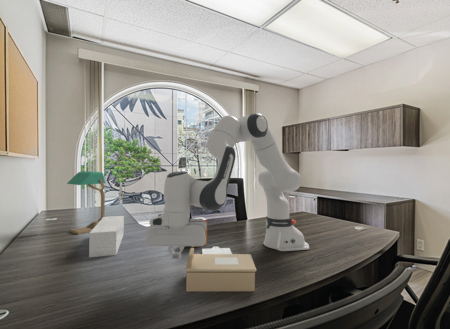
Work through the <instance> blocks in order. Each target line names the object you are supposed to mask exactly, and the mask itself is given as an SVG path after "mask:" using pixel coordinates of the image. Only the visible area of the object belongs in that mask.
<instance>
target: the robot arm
mask: <svg viewBox="0 0 450 329" xmlns="http://www.w3.org/2000/svg"><path fill="white" fill-rule="evenodd" d="M268 126H269V124H268V121H267V119H266V117H265V116H264V115H262V114H261V113H259V112H258V113H251V114H249V115H243V116H241V117H239V118H236V117H234V116H233V115H224V116H222V117H221V119H219V120H218V121H217V123H216V125H215V126H214V127H213V129H212V131H211V133H210V135H209V136H208V139H207V142H206V148H207V151H208V152H209V154H210V155H211V156H212V157H213V158H214V159H217V160H218V163H217V167H216V171H215V173H214V177H213V178H211V179H210V180H200V179H198V178H197V179H196V178H194V177H193V176H191V175H190V174H189V172H187V171H184V170H179V171H173V172H170V173H168V174H167V175H166V177H165V180H164V187H163V188H164V189H163V199H164V208H163V212H162V213H159V214H155V215H154V216H152V217H151V218H150V219H149V226H148V228H147V230H146V237H145V244H146V245H147V246H148V247H168V251H169V252H170V255H171V260H175V259H176V260H181V257H182V252H183V250H184V249H185V247H191V246H197V247H205V246H206V245H205V243H206V236H205V231H206V229H207V230H208V222H207V223H206V221H205V220H203V219H194V218H195V217H192V218H190V217H191V216H190V215H191V208H190V206H193V207H196V208H197V207H198V208H201V209H205V210H208V211H211V212H215V211H218V210H220V209H221V208H222V207H223V206H224V205H225V203H226V201H227V196H228V189H229V188H228V187H229V184H230V180H231V177H232V173H233V169H234V165H235V161H236V157H237V156H236V151H235V149H234V147H235V145H236V143H237V144H238V143H244V142H248V141H251V143H252V147H253V150H254V152H255V154H256V157H257V159H258V162H259V163H260V165H261V166H262V167H263V168H264V169H263V170H261V171H260V173H259V174H258V183H259V185H260V186H261V187H262V189H263V191H264V194H265V198H266V217H265V228H266V230H265V236H264V240H263V245H264V246H265V247H267V248H270V249H273V250H277V251H280V252H292V251H293V252H294V251H304V250H305V251H306V250H310V245H309V243H308V242H306V241H305V237H304V234H303V233H302V231H300V230H299V229H298V228H296V227H295V226H294V225H296V224H297V221H296V220H295V219H293V218H291V217H290V203H289V202H290V201H289V200H288V199H287V197H286V196H285V194H284V192H295V191H298V189H299V188H300V187H301V184H302V176H301V174H300V172H298V171H296V170H295V169H294V168H292V167H291V166H290V165H289V164H288V162H287V161H286V160H285V159H284V157H283V155H282V154H281V151H280V149H279V146H278V144H277V142H276V139H275V137H274V135H273V133H272V131H271V129H270V128H269V127H268ZM196 221H197V222H196ZM202 221H204V222H202ZM175 247H179V248H178V249H179V251H178V252H177V251H174V249H173V248H175Z"/></svg>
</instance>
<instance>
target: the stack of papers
mask: <svg viewBox="0 0 450 329" xmlns="http://www.w3.org/2000/svg"><path fill="white" fill-rule="evenodd" d="M124 232H125V216H124V215H115V216H113V215H111V216H104V217H103V218H102V219H101V220H100V221H99V222H98V224H97V225H96V226H95V227H94V228H93V229H92V231H91V232H88V233H89V245H88V248H89V250H88V258H98V257H109V256H116V255H117V254H118V251H119V248H120V246H121V243H122V241H123V237H124V234H125V233H124Z"/></svg>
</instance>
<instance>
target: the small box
mask: <svg viewBox="0 0 450 329" xmlns="http://www.w3.org/2000/svg"><path fill="white" fill-rule="evenodd" d="M193 218H194V219H203V220H205V221H206V223H207V224H208V219H207V218H205V217H202V216H201V217H200V216H199V217H193ZM196 222H197V221H196ZM202 222H204V221H202ZM205 236H206V243H205V245H204V246H207V244H208V228H207V229H206V231H205ZM195 247H198V246H190V248H195Z"/></svg>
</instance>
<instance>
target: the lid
mask: <svg viewBox="0 0 450 329" xmlns="http://www.w3.org/2000/svg"><path fill="white" fill-rule="evenodd" d="M186 261H187V262H186V266H185V272H186V273H187V272H255V273H256V272H257V268H256V264H255V262H254V260H253V257H252V254H250V253H246V254H245V253H244V254H243V253H241V254H240V253H232V254H202V253H195V247H190V248H189V253H188V255H187V260H186Z"/></svg>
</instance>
